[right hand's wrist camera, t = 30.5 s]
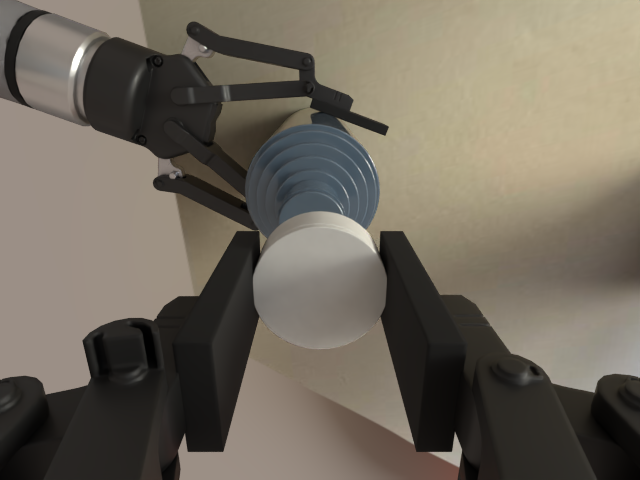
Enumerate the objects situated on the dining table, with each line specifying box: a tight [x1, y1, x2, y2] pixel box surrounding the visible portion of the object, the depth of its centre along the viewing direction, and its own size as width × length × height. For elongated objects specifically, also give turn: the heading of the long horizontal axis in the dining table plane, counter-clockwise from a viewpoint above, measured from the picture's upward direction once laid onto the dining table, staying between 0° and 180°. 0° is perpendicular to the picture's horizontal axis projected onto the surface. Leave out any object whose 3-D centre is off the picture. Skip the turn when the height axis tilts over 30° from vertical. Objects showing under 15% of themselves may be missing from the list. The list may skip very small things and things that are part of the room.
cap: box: [253, 211, 387, 349], centre depth 13 cm, size 4×4×2 cm
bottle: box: [245, 108, 380, 239], centre depth 30 cm, size 8×8×25 cm
